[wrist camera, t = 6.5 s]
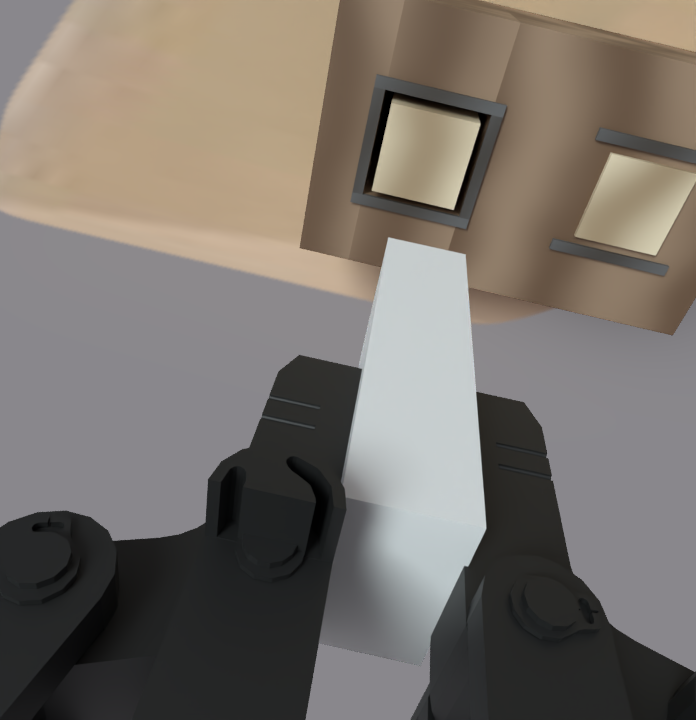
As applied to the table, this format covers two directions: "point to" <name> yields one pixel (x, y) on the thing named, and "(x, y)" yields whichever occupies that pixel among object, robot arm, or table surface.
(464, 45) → the wooden box
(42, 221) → the table surface
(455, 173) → the peg
